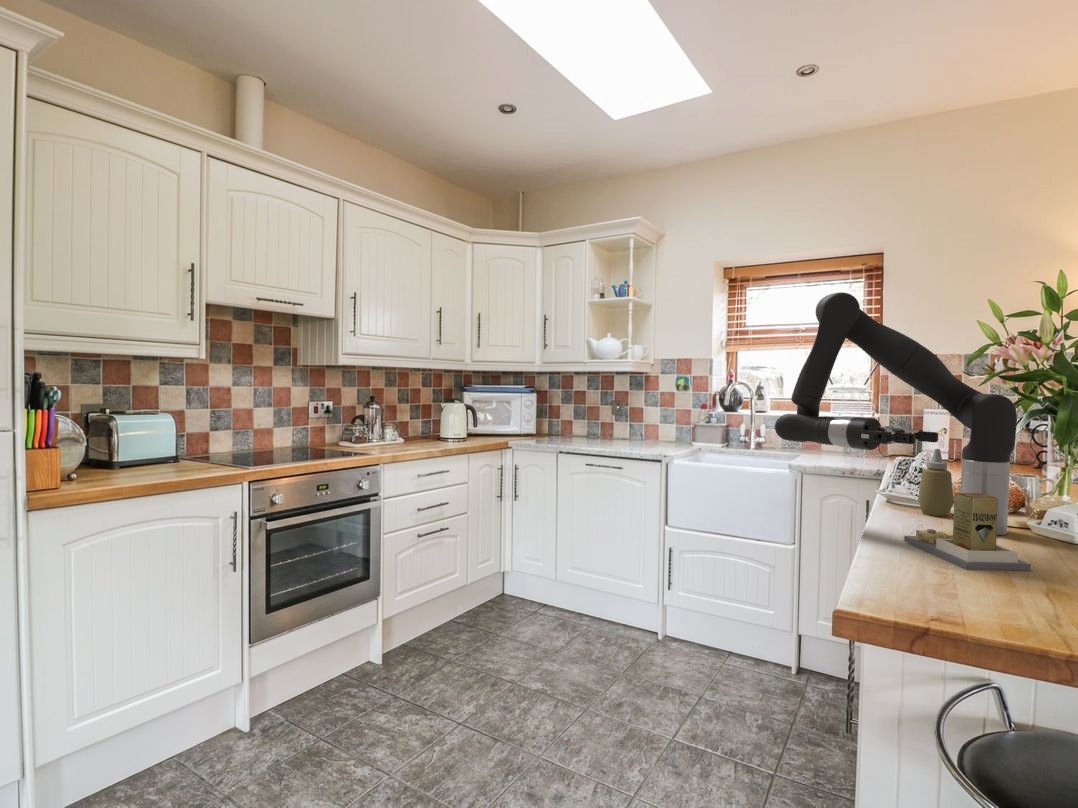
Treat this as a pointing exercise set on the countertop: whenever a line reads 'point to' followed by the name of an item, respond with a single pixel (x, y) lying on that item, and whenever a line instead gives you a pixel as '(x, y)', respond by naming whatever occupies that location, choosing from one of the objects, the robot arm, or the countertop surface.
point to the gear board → (928, 543)
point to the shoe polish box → (975, 521)
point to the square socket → (977, 553)
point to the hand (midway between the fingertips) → (926, 438)
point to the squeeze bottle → (936, 487)
